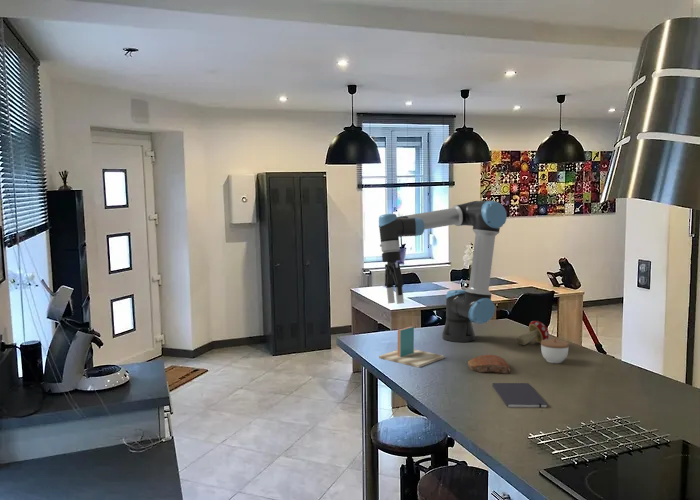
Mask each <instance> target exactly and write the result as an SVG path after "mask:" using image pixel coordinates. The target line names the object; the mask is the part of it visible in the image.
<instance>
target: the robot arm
mask: <svg viewBox="0 0 700 500" xmlns="http://www.w3.org/2000/svg"><path fill="white" fill-rule="evenodd" d="M507 216H508V215H507V210H506V209H505V207H504V206H503V205H502V203H500V202H499V201H493V200H474V201H473V200H472V201H470V202H464V203H461V204H456V205H453V206H451V207H450V208H446V209H445V208H444V209H440V210H432V211H427V212H426V211H425V212H420V213H413V214H407V215H402V216H397V214H396V213H386V214H381V215H379V217H378V228H379V237H380V244H379V247H381V248H380V250H381V252H382V254H381V258H382V259H381V261H382V262H383V263H385V264H384V269H385V271H384V272H385V273H384V286H385V287H386V295H387V304H394V303H396V304H398V305H399V304H405V300H404V291H403V286H404V285H405V283H404V279H403V274H402V271H401V264H400V262H399V261H401V259H402V258H401V252H400V250H401V248H400V240H399V238H401V237H418V236H422V235H423V234H424V233H425V230H429V229H436V228H442V227H448V226H455V227H460V226H461V227H462V226H469V227H470V226H471V227H472V231H473V233H474V234H475V237H474V246H473V252H472V253H473V254H472V260H471V261H472V262H471V268H470V276H469V285H468V288H466V289H450V290H448V291H447V292H446V296H445V297H446V298H445V300H446V302H445V303H446V304H445V305H446V306H445V308H446V309H445V310H446V311H445V312H446V313H445V317H446V318H445V324H444V328H443V330H442V333H441V335H442V337H441V338H442V340H445V341H448V342H455V343H467V342H468V343H469V342H473V341H475V339H476V334H475V330H474V327H473V324H472V323H475V324H485V323H488V322H489V321H490V320H491V319H492V318H493V316H494V314H495V312H496V306H495V303H494V302H493V300H492V293H491V291H490V290H489V288H490V282H491V281H490V280H491V274H492V273H491V272H492V265H493V264H492V263H493V258H494V257H493V256H494V248H495V239H496V236H497V235H498V234H500V229H501V228H502V227H503V225H505V223H506V221H507ZM386 263H387V264H386ZM393 283H394V284H393ZM394 288H395V290H394ZM394 291H395V292H394ZM395 299H396V302H395Z"/></svg>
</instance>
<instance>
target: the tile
mask: <svg viewBox="0 0 700 500" xmlns="http://www.w3.org/2000/svg"><path fill="white" fill-rule="evenodd" d="M414 337H415V327H414V326H408V327H404V328H400V329H397V350H398V356H399V357H402V356H405V355H408V354H411V353H414V349H415V348H414V347H415V346H414V344H415V343H414V342H415V341H414V340H415V338H414Z"/></svg>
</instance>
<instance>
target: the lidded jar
mask: <svg viewBox="0 0 700 500" xmlns="http://www.w3.org/2000/svg"><path fill="white" fill-rule="evenodd" d="M569 343H570V342H568V341H565V340H561V339H557V338H555V337H553V339H551V338H548V339H546V340H542V341H541V344H540V349H541V350H540V351H541V356H542V357H543V358H544V360H545V361H546V362H547V363H551V364H561V363H563V362H564V361H565V360H566V359H567V357H568V354H569V347H570V344H569Z"/></svg>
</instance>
